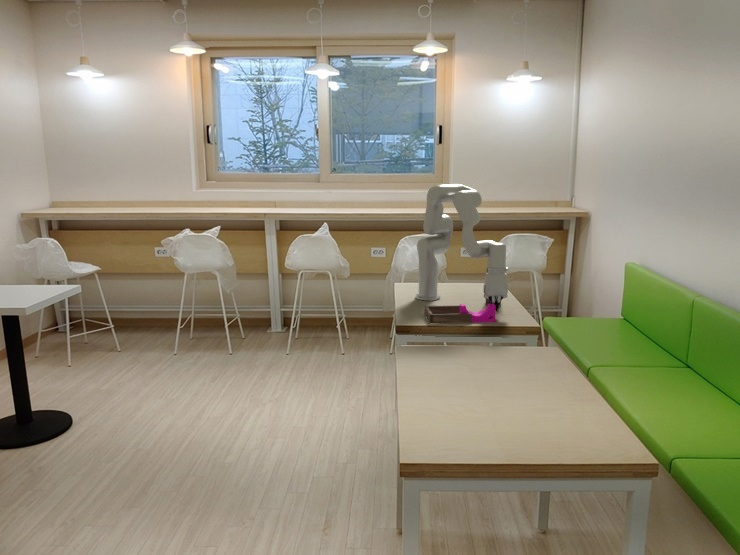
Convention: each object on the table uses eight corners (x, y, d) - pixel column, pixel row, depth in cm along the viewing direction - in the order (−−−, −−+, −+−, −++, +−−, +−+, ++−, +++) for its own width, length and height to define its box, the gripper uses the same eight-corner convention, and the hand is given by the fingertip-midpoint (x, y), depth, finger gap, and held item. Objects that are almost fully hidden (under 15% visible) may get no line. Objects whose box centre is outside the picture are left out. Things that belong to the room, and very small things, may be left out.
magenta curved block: (492, 318, 263) (493, 302, 261) (495, 322, 257) (495, 305, 255) (458, 318, 263) (459, 302, 262) (460, 322, 257) (461, 305, 256)
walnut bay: (424, 314, 269) (424, 306, 268) (463, 313, 270) (463, 305, 269) (430, 323, 255) (430, 314, 254) (471, 322, 256) (471, 313, 255)
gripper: (510, 268, 264) (508, 308, 268) (477, 269, 263) (476, 309, 267) (515, 271, 257) (513, 312, 260) (482, 272, 255) (480, 313, 259)
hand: (495, 310), depth 263 cm, fingers closed
